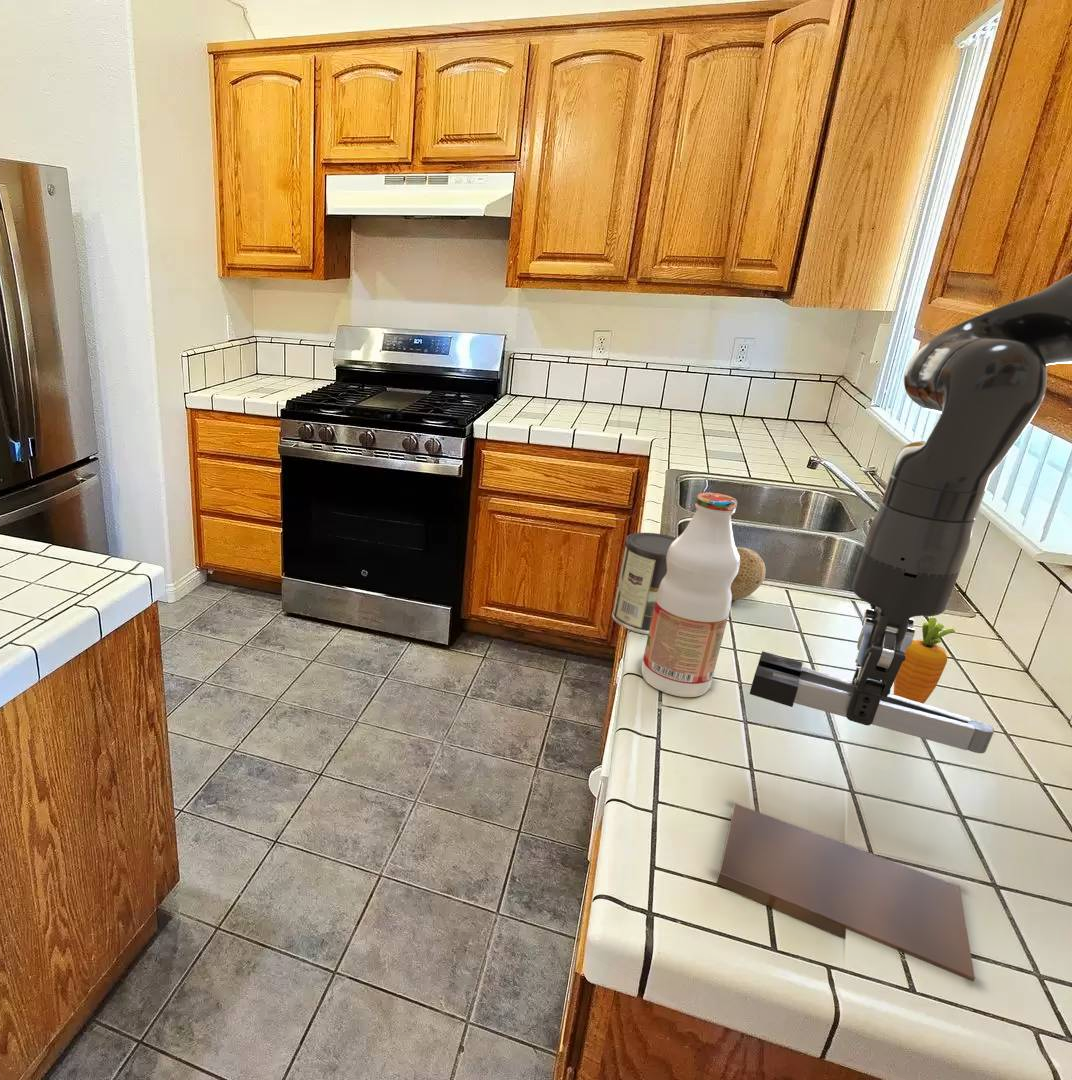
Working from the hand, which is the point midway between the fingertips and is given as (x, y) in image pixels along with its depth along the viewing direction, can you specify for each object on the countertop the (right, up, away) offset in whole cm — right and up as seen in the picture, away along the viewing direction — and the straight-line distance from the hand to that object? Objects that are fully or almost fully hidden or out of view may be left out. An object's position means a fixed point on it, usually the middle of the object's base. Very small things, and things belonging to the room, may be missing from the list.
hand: (858, 711), depth 76 cm
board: (-4, -17, -3) cm, 18 cm away
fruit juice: (-5, -3, +33) cm, 33 cm away
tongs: (0, 0, 0) cm, 0 cm away
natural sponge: (+17, +6, +60) cm, 63 cm away
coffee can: (-2, +4, +50) cm, 51 cm away
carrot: (+24, -7, +27) cm, 36 cm away
